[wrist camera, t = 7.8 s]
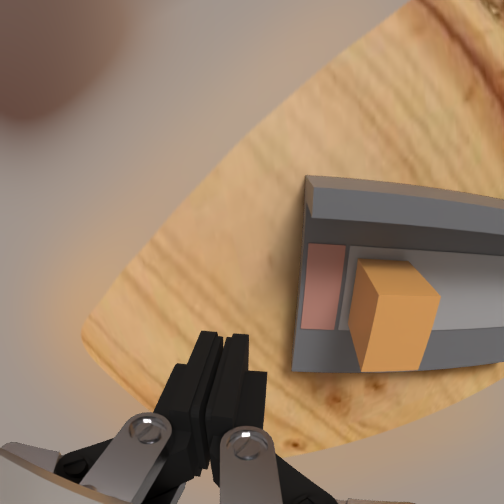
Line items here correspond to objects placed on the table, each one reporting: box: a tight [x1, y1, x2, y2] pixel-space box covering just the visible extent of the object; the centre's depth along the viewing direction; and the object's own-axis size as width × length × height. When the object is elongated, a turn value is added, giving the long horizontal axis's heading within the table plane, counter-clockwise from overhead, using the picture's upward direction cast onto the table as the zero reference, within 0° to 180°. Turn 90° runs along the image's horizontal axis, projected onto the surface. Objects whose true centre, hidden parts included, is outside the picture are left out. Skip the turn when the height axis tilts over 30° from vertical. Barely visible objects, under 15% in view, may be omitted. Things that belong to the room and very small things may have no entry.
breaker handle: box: [348, 258, 441, 372], centre depth 15 cm, size 3×4×4 cm
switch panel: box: [292, 175, 504, 373], centre depth 16 cm, size 19×12×6 cm, turn 89°
